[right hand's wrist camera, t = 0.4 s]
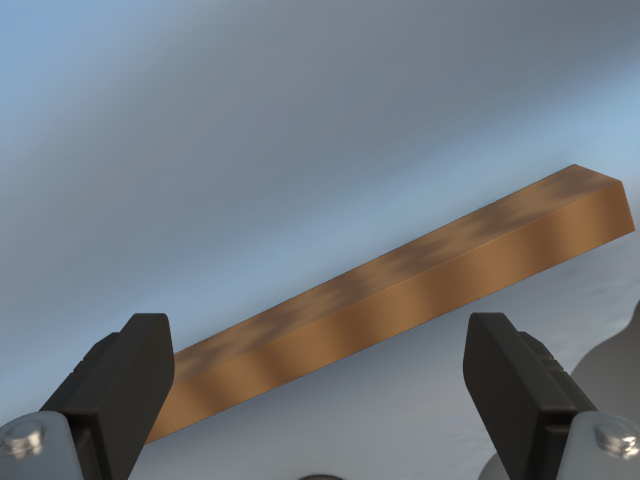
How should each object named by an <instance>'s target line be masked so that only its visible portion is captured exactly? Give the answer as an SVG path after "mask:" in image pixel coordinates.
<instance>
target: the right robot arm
mask: <svg viewBox="0 0 640 480" xmlns="http://www.w3.org/2000/svg"><path fill="white" fill-rule="evenodd" d="M174 375H175V361H174V354H173V347H172V340H171V333H170V326H169V320H168V317H167V315H166V314H164V313H136V314H134V315H133V316H132V317H131V318H130V320H129V321H128V322H127V323H126V325H125V326H124V327H123V329H122V330H121V331H120V332H113V333H111V334H110V335H108V336H107V337H105V338H104V339H102V340H101V341H99V342H97V343H96V344H95V345H94V346H93V347H92V348H91V349H90V351H89V352H88V353H87V354H86V355H85V357H84V358H83V361H80V362H79V364H78V365H77V366H76V367H75V368H74V371H73V373H70V374H69V376H68V377H67V378H66V379H65V380H64V382H63V383H62V384H61V385H60V386H59V388H58V389H57V390H56V391H55V392H54V393H53V395H52V396H51V397H50V398H49V399H48V401H47V402H46V403H45V404H44V405H43V407H42V408H41V409H40V410H39V411H38V412H34V413H30V414H27V415H24V416H21V417H19V418H16V419H14V420H12V421H10V422H8V423H7V424H5V425H4V426H2V427H0V480H127V479H128V477H129V475H130V473H131V471H132V469H133V467H134V465H135V463H136V461H137V458H138V456H139V454H140V452H141V450H142V448H143V446H144V444H145V442H146V440H147V438H148V435H149V433H150V431H151V429H152V427H153V425H154V423H155V421H156V419H157V417H158V414H159V412H160V410H161V408H162V406H163V404H164V402H165V400H166V398H167V396H168V393H169V391H170V389H171V387H172V384H173V380H174ZM463 375H464V380H465V384H466V387H467V389H468V391H469V393H470V395H471V397H472V400H473V402H474V404H475V406H476V408H477V410H478V412H479V414H480V417H481V419H482V421H483V423H484V425H485V427H486V429H487V431H488V433H489V436H490V438H491V440H492V442H493V444H494V446H495V448H496V450H497V453H498V455H499V457H500V459H501V461H502V463H503V465H504V467H505V470H506V472H507V474H508V476H509V478H510V480H640V428H639V427H638V426H636V425H635V424H633V423H632V422H630V421H628V420H626V419H624V418H621V417H619V416H616V415H613V414H610V413H605V412H600V411H598V410H597V408H596V407H595V406H594V405H593V404H592V402H591V401H590V400H589V399H588V398H587V396H586V395H585V394H584V393H583V392H582V390H581V389H580V388H579V387H578V386H577V384H576V383H575V382H574V381H573V380H572V378H571V377H570V376H569V375H568V374H567V372H564V371H563V368H562V366H561V365H560V364H559V363H558V361H557V360H554V357H553V355H552V354H551V353H550V352H549V351H548V349H547V348H546V347H545V346H544V345H543V343H541V342H540V341H538V340H537V339H535V338H534V337H532V336H530V335H529V334H527V333H526V332H518V331H517V330H516V329H515V327H514V326H513V325H512V323H511V322H510V321H509V320H508V318H507V317H506V316H505V315H504V314H503V313H472V314H471V316H470V319H469V324H468V331H467V338H466V345H465V352H464V359H463ZM301 480H342V479H339V478H336V477H333V476H327V475H316V476H310V477H306V478H303V479H301Z"/></svg>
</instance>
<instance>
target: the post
mask: <svg viewBox="0 0 640 480" xmlns="http://www.w3.org/2000/svg"><path fill="white" fill-rule="evenodd" d="M633 231H635V227H634V223H633V220H632V216H631V212H630V209H629V205H628V202H627V198H626V195H625V191H624V187H623V184H622V181H620V180H617V179H615V178H612V177H609V176H606V175H604V174H601V173H598V172H595V171H593V170H590V169H587V168H584V167H582V166H579V165H576V164H574V165H572V166H569V167H567V168H565V169H563V170H561V171H559V172H557V173H555V174H553V175H550V176H548V177H546V178H544V179H542V180H540V181H538V182H536V183H534V184H532V185H529V186H527V187H525V188H523V189H521V190H519V191H517V192H515V193H513V194H510V195H508V196H506V197H504V198H502V199H500V200H498V201H496V202H494V203H492V204H489V205H487V206H485V207H483V208H481V209H479V210H477V211H475V212H473V213H470V214H468V215H466V216H464V217H462V218H460V219H458V220H456V221H454V222H452V223H449V224H447V225H445V226H443V227H441V228H439V229H437V230H435V231H433V232H431V233H428V234H426V235H424V236H422V237H420V238H418V239H416V240H414V241H412V242H409V243H407V244H405V245H403V246H401V247H399V248H397V249H395V250H393V251H391V252H388V253H386V254H384V255H382V256H380V257H378V258H376V259H374V260H372V261H369V262H367V263H365V264H363V265H361V266H359V267H357V268H355V269H353V270H351V271H348V272H346V273H344V274H342V275H340V276H338V277H336V278H334V279H332V280H329V281H327V282H325V283H323V284H321V285H319V286H317V287H315V288H313V289H311V290H308V291H306V292H304V293H302V294H300V295H298V296H296V297H294V298H292V299H289V300H287V301H285V302H283V303H281V304H279V305H277V306H275V307H273V308H271V309H268V310H266V311H264V312H262V313H260V314H258V315H256V316H254V317H252V318H249V319H247V320H245V321H243V322H241V323H239V324H237V325H235V326H233V327H231V328H228V329H226V330H224V331H222V332H220V333H218V334H216V335H214V336H212V337H209V338H207V339H205V340H203V341H201V342H199V343H197V344H195V345H193V346H191V347H188V348H186V349H184V350H182V351H180V352H178V353H176V354H174V361H175V375H174V380H173V384H172V387H171V389H170V391H169V393H168V396H167V398H166V400H165V402H164V404H163V406H162V408H161V410H160V412H159V414H158V417H157V419H156V421H155V423H154V425H153V427H152V429H151V431H150V433H149V435H148V438H147V440H146V442H145V444H148V443H150V442H152V441H155V440H157V439H159V438H161V437H164V436H166V435H168V434H171V433H173V432H175V431H177V430H180V429H182V428H184V427H187V426H189V425H191V424H193V423H196V422H198V421H200V420H203V419H205V418H207V417H209V416H212V415H214V414H216V413H219V412H221V411H223V410H226V409H228V408H230V407H232V406H235V405H237V404H239V403H242V402H244V401H246V400H248V399H251V398H253V397H255V396H258V395H260V394H262V393H264V392H267V391H269V390H271V389H274V388H276V387H278V386H280V385H283V384H285V383H287V382H290V381H292V380H294V379H296V378H299V377H301V376H303V375H306V374H308V373H310V372H312V371H315V370H317V369H319V368H322V367H324V366H326V365H328V364H331V363H333V362H335V361H338V360H340V359H342V358H344V357H347V356H349V355H351V354H354V353H356V352H358V351H360V350H363V349H365V348H367V347H370V346H372V345H374V344H376V343H379V342H381V341H383V340H386V339H388V338H390V337H392V336H395V335H397V334H399V333H402V332H404V331H406V330H409V329H411V328H413V327H415V326H418V325H420V324H422V323H425V322H427V321H429V320H431V319H434V318H436V317H438V316H441V315H443V314H445V313H447V312H450V311H452V310H454V309H457V308H459V307H461V306H463V305H466V304H468V303H470V302H473V301H475V300H477V299H479V298H482V297H484V296H486V295H489V294H491V293H493V292H495V291H498V290H500V289H502V288H505V287H507V286H509V285H511V284H514V283H516V282H518V281H521V280H523V279H525V278H527V277H530V276H532V275H534V274H537V273H539V272H541V271H543V270H546V269H548V268H550V267H553V266H555V265H557V264H559V263H562V262H564V261H566V260H569V259H571V258H573V257H576V256H578V255H580V254H582V253H585V252H587V251H589V250H592V249H594V248H596V247H598V246H601V245H603V244H605V243H608V242H610V241H612V240H614V239H617V238H619V237H621V236H624V235H626V234H628V233H630V232H633ZM145 444H144V445H145Z"/></svg>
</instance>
